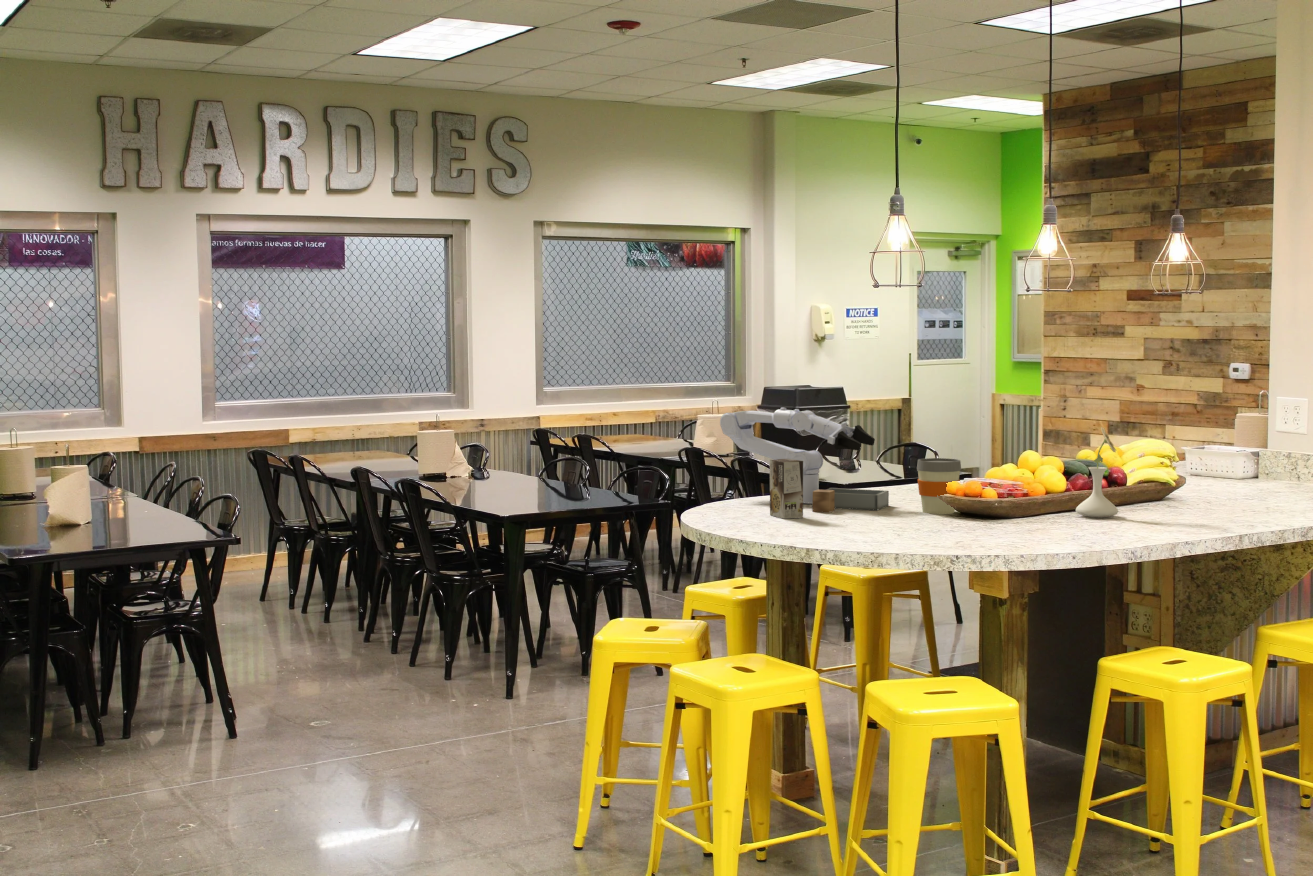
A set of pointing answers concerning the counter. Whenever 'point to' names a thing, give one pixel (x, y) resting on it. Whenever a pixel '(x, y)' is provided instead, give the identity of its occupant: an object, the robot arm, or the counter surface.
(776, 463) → the coffee box
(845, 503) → the slate bin
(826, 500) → the walnut block
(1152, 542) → the counter surface
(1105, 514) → the flower in vase
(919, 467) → the reusable coffee cup
